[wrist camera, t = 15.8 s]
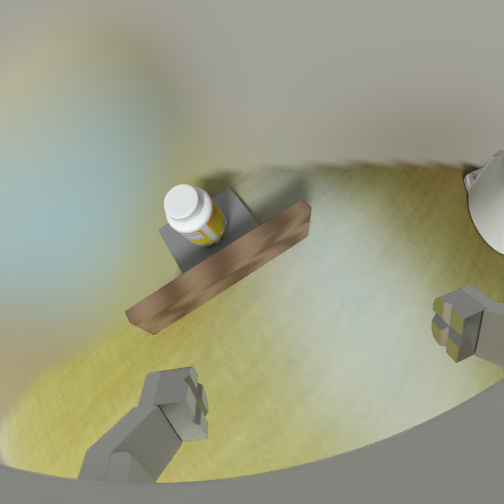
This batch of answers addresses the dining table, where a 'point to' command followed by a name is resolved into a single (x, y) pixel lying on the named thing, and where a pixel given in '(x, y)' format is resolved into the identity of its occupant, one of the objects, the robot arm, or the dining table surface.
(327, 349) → the dining table surface
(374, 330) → the dining table surface
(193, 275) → the walnut screen
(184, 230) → the supplement bottle
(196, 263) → the grey mat
